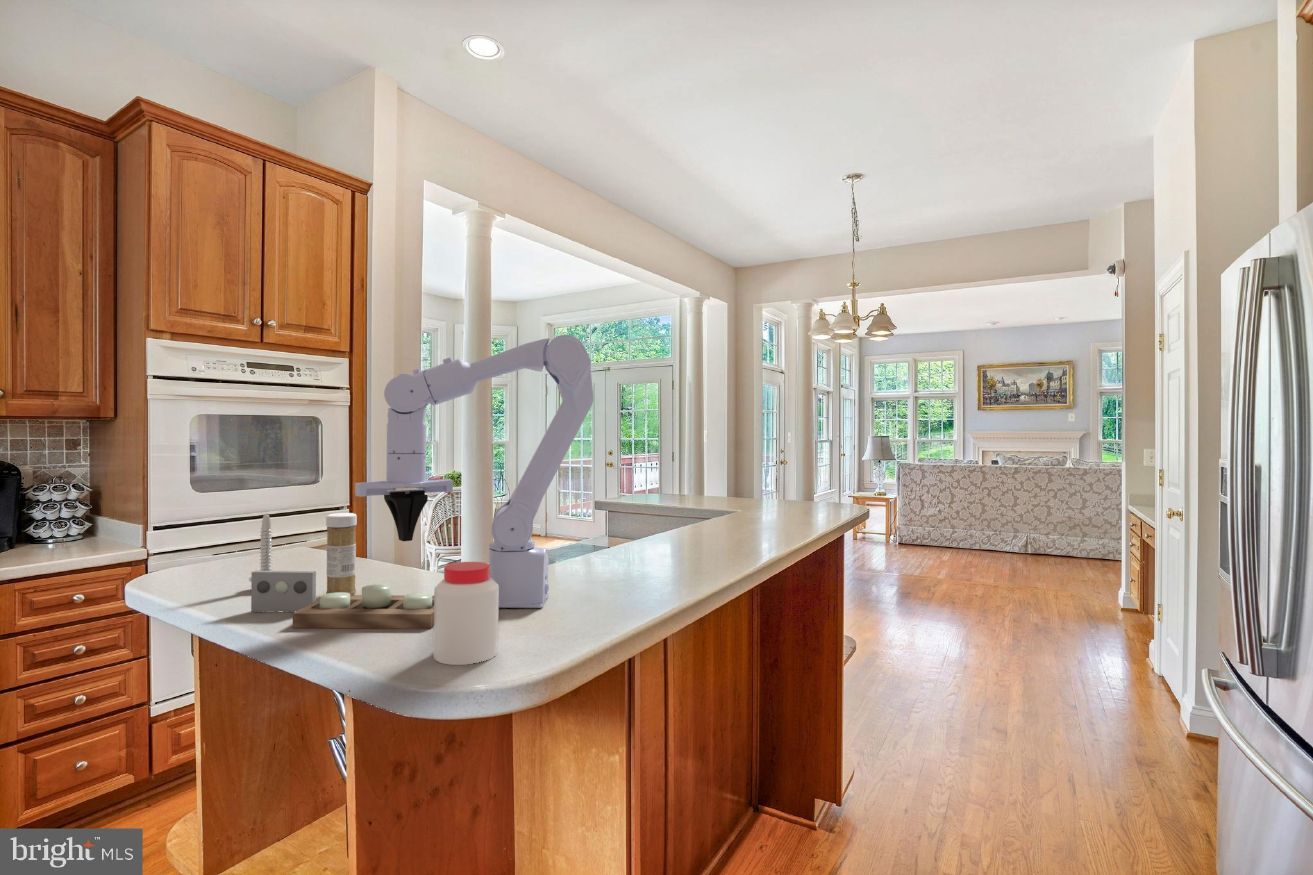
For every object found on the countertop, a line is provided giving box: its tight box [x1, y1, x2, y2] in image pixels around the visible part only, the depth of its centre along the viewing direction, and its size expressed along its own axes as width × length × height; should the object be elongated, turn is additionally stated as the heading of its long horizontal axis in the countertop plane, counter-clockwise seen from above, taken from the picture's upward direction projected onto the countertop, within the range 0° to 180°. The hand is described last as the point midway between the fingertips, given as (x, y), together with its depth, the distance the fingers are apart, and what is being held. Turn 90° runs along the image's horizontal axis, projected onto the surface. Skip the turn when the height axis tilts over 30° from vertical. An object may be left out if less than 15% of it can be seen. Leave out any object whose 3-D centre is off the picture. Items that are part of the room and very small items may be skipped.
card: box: [250, 570, 317, 613], centre depth 97 cm, size 9×1×6 cm, turn 92°
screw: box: [248, 513, 273, 583], centre depth 109 cm, size 13×5×5 cm
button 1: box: [319, 592, 350, 609], centre depth 94 cm, size 4×4×2 cm
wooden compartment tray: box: [292, 594, 434, 630], centre depth 94 cm, size 19×10×2 cm, turn 92°
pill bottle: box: [432, 561, 500, 666], centre depth 80 cm, size 8×8×11 cm
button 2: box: [403, 592, 433, 609], centre depth 95 cm, size 4×4×2 cm
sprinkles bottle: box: [325, 512, 358, 595], centre depth 107 cm, size 5×5×13 cm
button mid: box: [361, 583, 392, 608], centre depth 94 cm, size 4×4×2 cm
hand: (405, 540), depth 100 cm, fingers closed
